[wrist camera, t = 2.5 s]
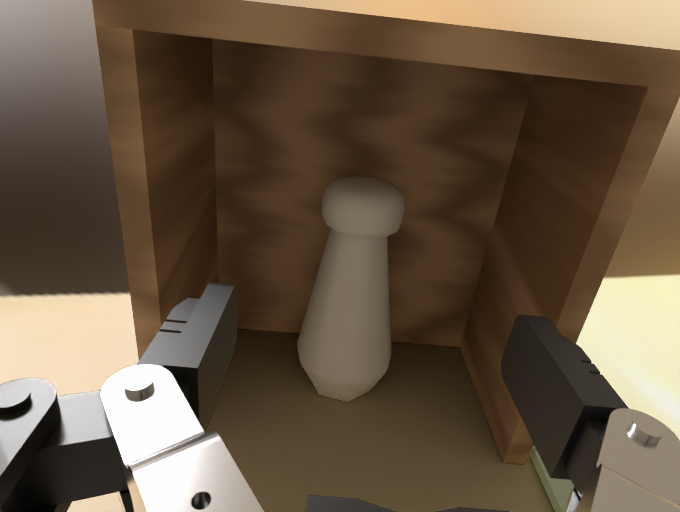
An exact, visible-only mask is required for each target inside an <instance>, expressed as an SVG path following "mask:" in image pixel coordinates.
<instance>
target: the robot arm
mask: <svg viewBox="0 0 680 512" xmlns="http://www.w3.org/2000/svg"><path fill="white" fill-rule="evenodd" d="M237 318H238V288H237V285H232V284H222V283H212V282H210V283H209V284H208V286H207V287H206V289H205V291H204V293H203V294H202V296H201V298H200V299H194V298H187V299H186V300H184V301H183V302H181V303H180V304H178V305H177V306H175V307H174V308H173V309H172V311H171V312H170V314H169V315H168V317H167V319H166V322H164V323H163V325H162V326H161V328H160V331H158V332H157V334H156V336H155V337H154V339H153V340H152V342H151V343H150V345H149V346H148V348H147V350H146V351H145V353H144V354H143V356H142V357H141V359H140V360H139V362H138V363H137V365H136V366H133V367H129V368H126V369H124V370H122V371H120V372H118V373H116V374H115V375H113V376H112V377H111V378H109V380H108V381H107V382H106V383H105V385H104V386H103V388H102V389H100V390H97V391H91V392H85V393H78V394H70V395H63V396H57V393H56V389H55V387H54V385H53V384H52V383H50V382H49V381H46V380H44V379H39V378H23V379H17V380H13V381H9V382H6V383H3V384H1V385H0V512H67V510H68V508H69V506H70V504H71V502H72V501H77V500H82V499H86V498H91V497H96V496H100V495H105V494H110V493H114V492H117V494H118V497H119V500H120V503H121V507H122V510H123V512H264V511H263V509H262V507H261V506H260V504H259V502H258V500H257V499H256V497H255V495H254V494H253V492H252V490H251V489H250V487H249V485H248V483H247V482H246V480H245V478H244V477H243V475H242V473H241V472H240V470H239V468H238V466H237V465H236V463H235V461H234V460H233V458H232V456H231V455H230V453H229V451H228V449H227V448H226V446H225V444H224V443H223V441H222V439H221V438H220V436H219V435H218V434H217V432H216V431H214V430H211V431H208V432H206V430H207V427H208V424H209V421H210V419H211V416H212V413H213V410H214V407H215V404H216V402H217V399H218V396H219V393H220V390H221V388H222V385H223V382H224V379H225V376H226V373H227V371H228V368H229V365H230V362H231V359H232V357H233V354H234V350H235V346H236V340H237ZM501 374H502V378H503V380H504V383H505V385H506V387H507V389H508V391H509V393H510V395H511V397H512V399H513V401H514V403H515V405H516V408H517V410H518V412H519V414H520V416H521V418H522V420H523V422H524V424H525V426H526V428H527V430H528V433H529V435H530V437H531V439H532V441H533V443H534V445H535V447H536V449H537V451H538V453H539V455H540V458H541V460H542V462H543V464H544V466H545V468H546V470H547V472H548V474H549V476H550V478H555V479H567V480H571V481H572V483H573V485H574V487H573V489H572V491H571V493H570V495H569V497H568V500H567V503H566V506H565V510H564V512H680V441H679V439H678V438H677V436H676V435H675V434H674V433H673V432H672V431H671V430H670V429H669V428H668V427H667V426H665V425H664V424H663V423H661V422H660V421H658V420H657V419H655V418H653V417H651V416H649V415H647V414H645V413H643V412H640V411H637V410H633V409H629V408H628V407H627V406H626V404H625V403H624V402H623V401H622V399H621V398H620V397H619V396H618V394H617V393H616V392H615V390H614V389H613V388H612V387H611V385H610V384H609V383H608V382H607V380H606V379H605V378H604V376H603V375H600V371H599V370H598V369H597V368H596V366H595V365H594V364H591V360H590V359H589V357H588V356H587V355H586V354H585V352H584V351H583V350H582V349H581V348H580V347H579V346H578V345H576V344H575V343H574V342H572V341H571V340H570V339H568V338H567V337H566V336H562V335H561V333H560V332H559V331H558V329H557V328H556V327H555V325H554V324H553V323H552V321H551V320H550V319H549V318H548V317H543V316H533V315H523V314H520V315H518V316H517V317H516V319H515V321H514V324H513V327H512V330H511V332H510V335H509V338H508V341H507V344H506V347H505V350H504V353H503V356H502V360H501ZM305 512H395V511H392V510H389V509H386V508H383V507H380V506H377V505H374V504H371V503H368V502H365V501H362V500H359V499H352V498H339V497H327V496H315V495H307V500H306V508H305ZM437 512H509V511H501V510H488V509H476V508H463V507H458V508H453V509H448V510H443V511H437Z"/></svg>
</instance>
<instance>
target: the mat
mask: <svg viewBox="0 0 680 512" xmlns="http://www.w3.org/2000/svg"><path fill="white" fill-rule="evenodd" d="M531 460H532V462H533V464H534V466H535V469H536V471H537V473H538V475H539V477H540V480H541V482H542V484H543V486H544V489H545V491H546V493H547V495H548V498H549V500H550V502H551V504H552V507H553V509H554V511H555V512H564V510H565V506H566V503H567V500H568V497H569V495H570V493H571V491H572V489H573V487H574V485H573V483H572V481H571V480H567V479H555V478H550V476H549V474H548V472H547V470H546V468H545V466H544V464H543V462H542V460H541V458H540V455H539V453H538V451H537V450H535V449H534V450H533V452H532V454H531Z"/></svg>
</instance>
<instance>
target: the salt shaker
mask: <svg viewBox="0 0 680 512" xmlns="http://www.w3.org/2000/svg"><path fill="white" fill-rule="evenodd" d="M404 210H405V197H404V196H403V194H402V193H401V192H400V190H399V189H398V188H397V187H396V186H395V185H393V184H391V183H388V182H386V181H384V180H381V179H377V178H372V177H365V176H350V177H343V178H339V179H336V180H335V181H334V182H332V183H331V184H330V185H329V186H328V187H327V188H326V189H325V192H324V196H323V199H322V215H323V218H324V221H325V223H326V225H327V226H329V227H331V229H330V233H329V236H328V240H327V243H326V246H325V250H324V253H323V257H322V260H321V263H320V267H319V270H318V274H317V277H316V280H315V284H314V287H313V291H312V294H311V297H310V301H309V304H308V308H307V311H306V314H305V318H304V321H303V325H302V328H301V331H300V335H299V338H298V341H297V347H298V353H299V358H300V363H301V365H302V367H303V368H304V370H305V372H306V373H307V375H308V376H309V378H310V380H311V381H312V383H313V385H314V387H315V388H316V390H317V392H318V394H319V395H323V396H326V397H330V398H334V399H338V400H341V401H345V402H349V401H351V400H353V399H355V398H357V397H359V396H361V395H363V394H365V393H367V392H369V391H371V389H372V388H373V387H374V386H375V385H376V383H377V382H378V381H379V380H380V379H381V378H382V376H383V375H384V374H385V373H386V371H387V369H388V366H389V362H390V357H391V352H392V351H391V327H390V303H389V279H388V249H387V236H389V235H392V234H394V233H396V232H397V231H398V229H399V228H400V225H401V222H402V218H403V214H404Z"/></svg>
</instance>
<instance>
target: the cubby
mask: <svg viewBox="0 0 680 512" xmlns="http://www.w3.org/2000/svg"><path fill="white" fill-rule="evenodd" d="M92 3H93V11H94V18H95V26H96V33H97V41H98V49H99V56H100V65H101V72H102V80H103V88H104V95H105V102H106V110H107V118H108V126H109V134H110V141H111V148H112V157H113V164H114V171H115V179H116V187H117V194H118V203H119V210H120V218H121V225H122V233H123V240H124V248H125V256H126V264H127V271H128V279H129V287H130V295H131V302H132V310H133V318H134V325H135V333H136V341H137V348H138V356H139V360H140V359H141V357H142V356H143V354H144V353H145V351H146V350H147V348H148V346H149V345H150V343H151V342H152V340H153V339H154V337H155V336H156V334H157V332H158V331H160V328H161V326H162V325H163V323H164V322H166V319H167V317H168V315H169V314H170V312H171V311H172V309H173V308H174V307H175V306H177V305H178V304H180V303H181V302H183V301H184V300H186V299H187V298H194V299H200V298H201V296H202V294H203V293H204V291H205V289H206V287H207V286H208V284H209V283H210V282H212V283H222V284H232V285H237V288H238V318H237V328H240V329H252V330H264V331H275V332H287V333H298V334H300V331H301V328H302V325H303V321H304V318H305V314H306V311H307V308H308V304H309V301H310V297H311V294H312V291H313V287H314V284H315V280H316V277H317V274H318V270H319V267H320V263H321V260H322V257H323V253H324V250H325V246H326V243H327V240H328V236H329V233H330V229H331V227H329V226H327V225H326V223H325V221H324V218H323V215H322V199H323V196H324V192H325V189H326V188H327V187H328V186H329V185H330V184H331V183H332V182H334V181H335V180H336V179H339V178H343V177H350V176H365V177H372V178H377V179H381V180H384V181H386V182H388V183H391V184H393V185H395V186H396V187H397V188H398V189H399V190H400V192H401V193H402V194H403V196H404V197H405V210H404V214H403V218H402V222H401V225H400V228H399V229H398V231H397V232H396V233H394V234H392V235H389V236H387V249H388V279H389V303H390V327H391V342H402V343H414V344H426V345H437V346H449V347H460V350H461V352H462V355H463V358H464V360H465V363H466V366H467V368H468V371H469V374H470V376H471V379H472V382H473V384H474V387H475V390H476V392H477V395H478V398H479V400H480V403H481V406H482V408H483V411H484V414H485V416H486V419H487V421H488V424H489V427H490V429H491V432H492V435H493V437H494V440H495V443H496V445H497V448H498V451H499V453H500V456H501V459H502V461H503V463H515V464H525V463H526V460H527V458H528V456H529V453H530V451H531V448H532V446H533V444H534V443H533V441H532V439H531V437H530V435H529V433H528V430H527V428H526V426H525V424H524V422H523V420H522V418H521V416H520V414H519V412H518V410H517V408H516V405H515V403H514V401H513V399H512V397H511V395H510V393H509V391H508V389H507V387H506V385H505V383H504V380H503V378H502V374H501V360H502V356H503V353H504V350H505V347H506V344H507V341H508V338H509V335H510V332H511V330H512V327H513V324H514V321H515V319H516V317H517V316H518V315H520V314H523V315H533V316H543V317H548V318H549V319H550V320H551V321H552V323H553V324H554V325H555V327H556V328H557V329H558V331H559V332H560V333H561V335H562V336H566V337H567V338H568V339H570V340H571V341H572V342H574V343H575V344H576V342H577V339H578V337H579V334H580V332H581V330H582V327H583V325H584V323H585V320H586V318H587V315H588V313H589V311H590V308H591V306H592V304H593V301H594V299H595V296H596V294H597V292H598V289H599V287H600V285H601V282H602V280H603V277H604V275H605V273H606V270H607V268H608V266H609V263H610V261H611V258H612V256H613V254H614V251H615V249H616V247H617V244H618V242H619V240H620V237H621V235H622V232H623V230H624V228H625V225H626V223H627V221H628V218H629V216H630V213H631V211H632V209H633V206H634V204H635V202H636V199H637V197H638V194H639V192H640V190H641V187H642V185H643V183H644V180H645V178H646V175H647V173H648V170H649V168H650V166H651V164H652V161H653V159H654V156H655V154H656V152H657V149H658V147H659V145H660V142H661V140H662V137H663V135H664V133H665V130H666V128H667V126H668V123H669V121H670V118H671V116H672V114H673V111H674V109H675V107H676V104H677V102H678V99H679V97H680V51H679V50H670V49H661V48H653V47H644V46H635V45H626V44H618V43H609V42H600V41H592V40H583V39H574V38H566V37H557V36H548V35H539V34H530V33H522V32H513V31H505V30H496V29H487V28H479V27H470V26H461V25H452V24H443V23H435V22H426V21H417V20H409V19H400V18H391V17H383V16H374V15H364V14H356V13H348V12H339V11H331V10H322V9H312V8H305V7H295V6H287V5H277V4H270V3H261V2H252V1H244V0H92Z"/></svg>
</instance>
